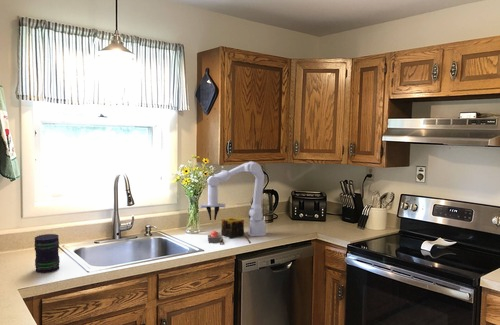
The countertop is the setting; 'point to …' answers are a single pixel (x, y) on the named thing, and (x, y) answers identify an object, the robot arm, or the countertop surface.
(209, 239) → the button box
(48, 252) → the storage jar
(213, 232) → the dome
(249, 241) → the track
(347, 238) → the countertop surface
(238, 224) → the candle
